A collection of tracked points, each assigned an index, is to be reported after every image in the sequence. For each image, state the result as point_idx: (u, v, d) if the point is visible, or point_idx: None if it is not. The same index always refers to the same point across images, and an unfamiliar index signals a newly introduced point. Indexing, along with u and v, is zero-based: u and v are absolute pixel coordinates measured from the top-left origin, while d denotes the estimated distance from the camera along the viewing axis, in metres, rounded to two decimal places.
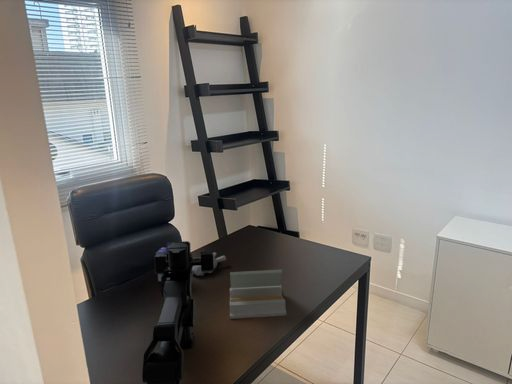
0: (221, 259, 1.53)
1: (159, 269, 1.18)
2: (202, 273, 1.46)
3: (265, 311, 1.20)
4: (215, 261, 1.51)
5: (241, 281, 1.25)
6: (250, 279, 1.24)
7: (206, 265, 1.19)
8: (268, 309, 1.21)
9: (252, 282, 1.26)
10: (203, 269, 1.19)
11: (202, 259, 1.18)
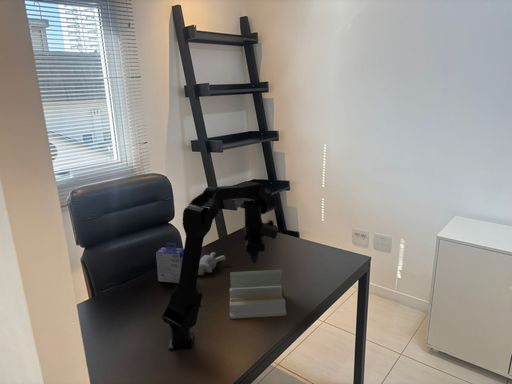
0: (220, 259, 1.53)
1: None
2: (202, 273, 1.47)
3: (265, 311, 1.20)
4: (215, 261, 1.51)
5: (241, 281, 1.25)
6: (250, 279, 1.24)
7: (253, 241, 1.22)
8: (268, 309, 1.21)
9: (252, 282, 1.26)
10: (249, 240, 1.23)
11: (260, 239, 1.23)
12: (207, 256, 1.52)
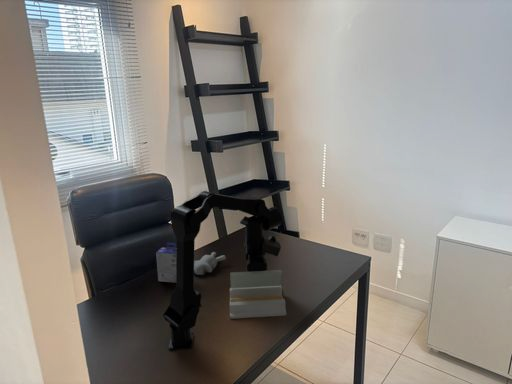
0: (221, 258, 1.53)
1: None
2: (202, 272, 1.47)
3: (265, 311, 1.20)
4: (215, 260, 1.52)
5: (241, 281, 1.25)
6: (250, 279, 1.24)
7: (255, 260, 1.16)
8: (268, 309, 1.21)
9: (252, 282, 1.26)
10: (250, 258, 1.17)
11: (262, 257, 1.17)
12: (207, 256, 1.52)
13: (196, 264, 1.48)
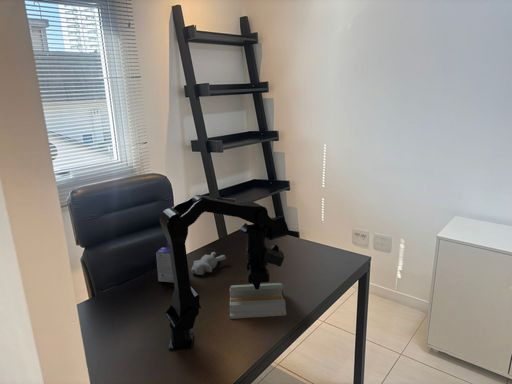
0: (221, 258, 1.53)
1: None
2: (202, 272, 1.47)
3: (265, 311, 1.20)
4: (215, 260, 1.52)
5: None
6: None
7: (257, 270, 1.09)
8: (268, 309, 1.21)
9: None
10: (252, 269, 1.10)
11: (264, 268, 1.10)
12: (207, 256, 1.52)
13: (196, 264, 1.48)
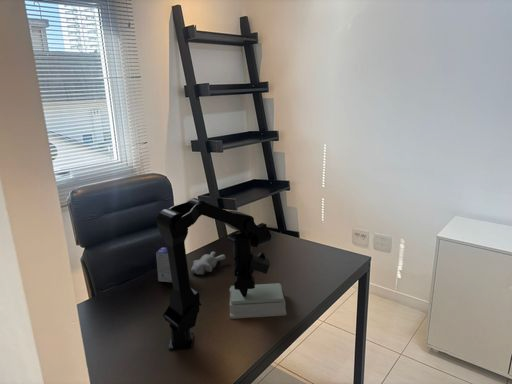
0: (220, 258, 1.54)
1: None
2: (202, 272, 1.47)
3: (265, 311, 1.20)
4: (215, 260, 1.52)
5: None
6: None
7: (243, 277, 1.13)
8: (268, 309, 1.21)
9: None
10: (238, 276, 1.14)
11: (250, 275, 1.15)
12: (207, 255, 1.52)
13: (196, 263, 1.48)
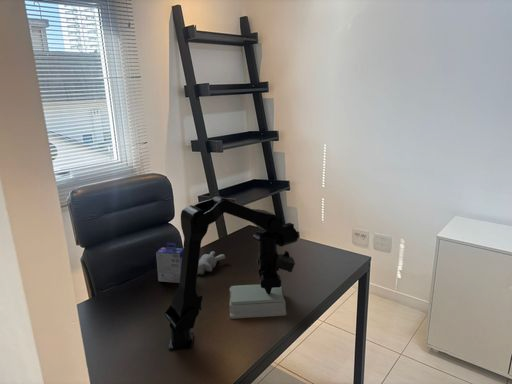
0: (220, 257, 1.54)
1: None
2: (202, 272, 1.47)
3: (265, 311, 1.20)
4: (214, 259, 1.52)
5: None
6: None
7: (269, 276, 1.14)
8: (268, 309, 1.21)
9: None
10: (264, 274, 1.15)
11: (275, 273, 1.15)
12: (207, 255, 1.53)
13: None
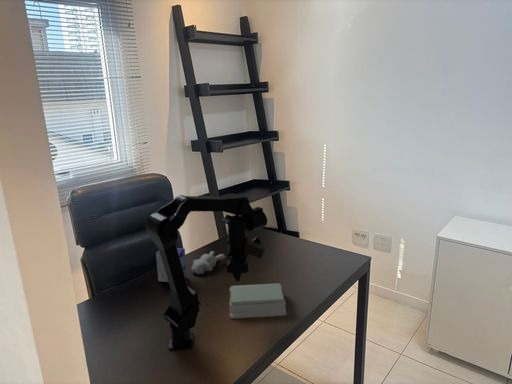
0: (220, 257, 1.55)
1: None
2: (202, 271, 1.48)
3: (265, 311, 1.20)
4: (214, 259, 1.53)
5: None
6: None
7: (236, 260, 1.09)
8: (268, 309, 1.21)
9: None
10: (231, 259, 1.10)
11: (243, 259, 1.11)
12: (207, 255, 1.53)
13: (196, 263, 1.48)
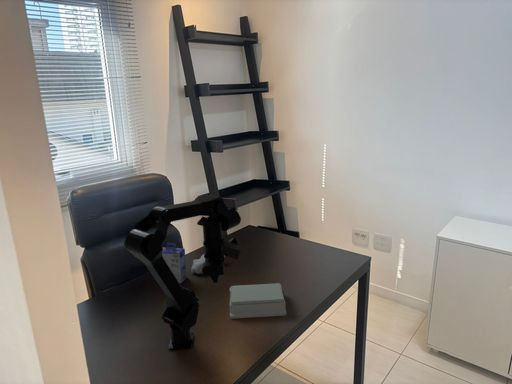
0: None
1: None
2: None
3: (265, 311, 1.20)
4: None
5: None
6: None
7: (211, 263, 1.07)
8: (268, 309, 1.21)
9: None
10: (207, 261, 1.08)
11: (219, 260, 1.09)
12: None
13: (196, 263, 1.48)
